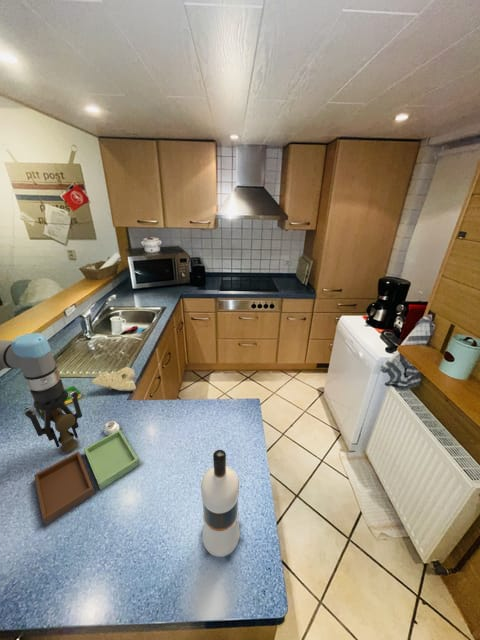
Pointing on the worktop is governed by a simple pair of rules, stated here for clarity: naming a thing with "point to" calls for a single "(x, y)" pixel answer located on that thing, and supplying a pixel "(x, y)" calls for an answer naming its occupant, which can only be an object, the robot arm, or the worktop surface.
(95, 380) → the cheese
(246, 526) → the worktop surface
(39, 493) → the walnut tray
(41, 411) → the dish sponge
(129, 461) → the green tray
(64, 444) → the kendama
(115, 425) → the white jar
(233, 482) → the vodka
